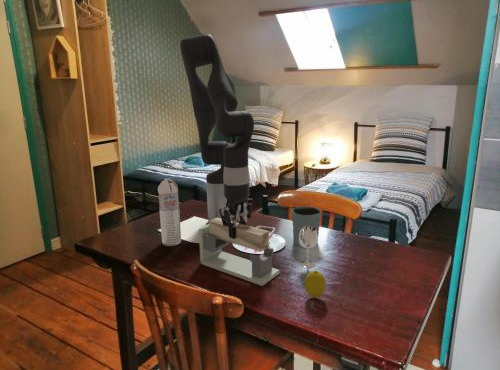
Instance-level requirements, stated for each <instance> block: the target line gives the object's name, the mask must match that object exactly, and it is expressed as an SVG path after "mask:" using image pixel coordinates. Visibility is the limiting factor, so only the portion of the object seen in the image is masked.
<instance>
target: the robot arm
mask: <svg viewBox="0 0 500 370" xmlns="http://www.w3.org/2000/svg"><path fill="white" fill-rule="evenodd" d="M179 45H180V47H179V48H180V54H181V58H182V62H183V65H184V69H185V74H186V77H187V81H188V85H189V91H190V97H191V103H192V109H193V114H194V118H195V123H196V127H197V131H198V140H199V141H198V142H199V148H200V156H201V159H202V163H204V164H205V165H210V166H211V165H212V166H214V165H215V166H216V165H217V166H220V167H219V169H217V170H215V171H212V172H209V173H207V174H206V176H205V178H206V201H207V203H206V204H207V222H208V224H209V221H210V220H212V219H215V218H221V219H222V223H223V226H227V227H229V237H230V238H232V239H236V223H240V224H244V225H247V222H248V220H249V219H251V218H252V213H253V206H254V202H255V200H254V199H253V198H249V196H250V195H251V193H250V169H249V150H250V145H251V141H252V137H253V133H254V129H255V121H254V117H253V115H252V113H251V112H250V111H247V110H237V107H238V104H239V103H238V99H237V96H236V94H235V92H234V90H233V88H232V86H231V85H230V82H229V79H228V77H227V74H226V69H225V67H224V63H223V61H222V58H221V55H220V51H219V48H218V45H217V43H216V41H215V39H214V37H213V36H212V34H210V33H203V34H198V35H193V36H189V37H184V38H183V39H181V40H180V44H179ZM207 65H212V67H211V72H210V75H209V79H208V81H207V83H205V82H204V80H203V79H202V78H201V77H200V75H199V74H198V72H197V68H200V67H204V66H207ZM236 110H237V111H236ZM215 127H216V131H217V132H218V134H219V135H220V136H221V137H223V138H234V137H235V138H236V137H237V138H236V141H234V142H232V143H231V144H230V143H229V142H227V141H225V140H210V139H209V138H210V135H211V133H212V131H213V129H214V128H215ZM226 221H227V222H226ZM231 221H232V222H233V223H231ZM237 221H238V222H237Z"/></svg>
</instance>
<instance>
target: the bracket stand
mask: <svg viewBox="0 0 500 370" xmlns="http://www.w3.org/2000/svg"><path fill="white" fill-rule="evenodd" d="M198 239H199V259H200V265H204V266H205V267H208V268H211V269H215V270H217V271H220V272H222V273H225V274H229V275H230V276H234V277H237V278H240V279H243V280H245V281H247V282H250V283H252V284H255V285H259V286H261V287H264V286H265V285H266V284H267V283H268V282H270V281H272V279H274V278H275V277H277V276H278V275H279V274H280V269H277V268H274V267H273V256H274V253H275V251H274V250H275V249H274V248H273V247H270V246H269V247H268V248H267V249H265V250H263V253H262V254H259V255H256V254H253V253H251V254H249V259H247V258H245V257H244V258H243V257H241V256H238V255H235V254H231V253H228V252H226V251H223V248H225V247H227V246H229V245H230V244H231V243H230V242H227V241H224V240H221V239H217V238H215V236H212V235H209V223H208V224H206V225H204V226H201V227H199V228H198Z"/></svg>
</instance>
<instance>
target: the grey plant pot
mask: <svg viewBox="0 0 500 370" xmlns="http://www.w3.org/2000/svg"><path fill="white" fill-rule="evenodd" d="M321 216H322V210H321V209H319V208H318V207H315V206H308V205H307V206H306V205H305V206H297V207H293V208H292V209H291V218H292V220H291V221H292V232H293V233H292V235H293V238H292V240H293V244H294V245H295V246H297V247H300V248H303V247H302V246H301V245H300V243H299V233H300V230H301V228H302V227H304V226H311V227H315V228H316V231H317V236H318V237H319V233H320V232H319V231H320V222H321ZM318 243H319V242H317V244H318Z"/></svg>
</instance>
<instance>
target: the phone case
mask: <svg viewBox="0 0 500 370" xmlns="http://www.w3.org/2000/svg"><path fill="white" fill-rule="evenodd" d="M255 228H259V229H262V228H266V229H267V228H268V229H271V230H272V231H271V232H269V237H270V236H271V237H272V235H273V234H274V233H275V231H276V227H271V226H264V225H257V226H255ZM271 237H270V238H271Z"/></svg>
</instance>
